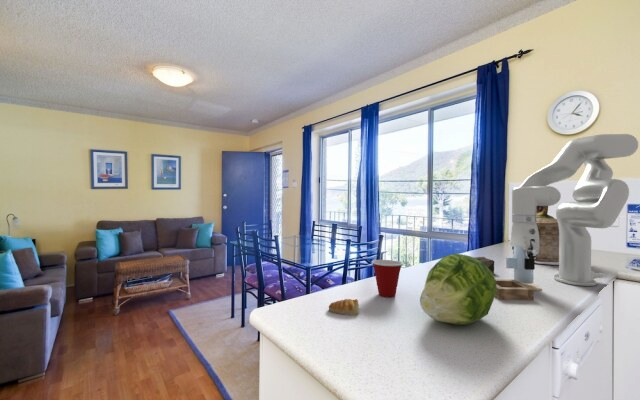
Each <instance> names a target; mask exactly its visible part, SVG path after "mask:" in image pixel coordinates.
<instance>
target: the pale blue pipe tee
mask: <svg viewBox="0 0 640 400" xmlns="http://www.w3.org/2000/svg"><path fill="white" fill-rule="evenodd" d="M528 250H531V249H528ZM530 253H531V252H528V254H530ZM525 258H526V256H525V251H524V250H522V248H519V247H516V246H514V254H513V256H512V257H511V256H510V257H509V256H506V258H505V259H506V260H505V261H506V262H505V263H506V264H505V268H506V269H513V280H516V281H518V282H520V283H525V284H534V270H526V269H525V268H524V263H525Z"/></svg>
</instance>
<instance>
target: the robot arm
mask: <svg viewBox="0 0 640 400" xmlns="http://www.w3.org/2000/svg"><path fill="white" fill-rule="evenodd" d="M638 141H639V140H637V138H636V137H635V136H634V135H632V134H630V133H612V134H611V133H604V134H601V133H600V134H593V135H590V136H582V137H578V138H574V139H571V140H569V141H568V142H567V143H566V144H565V146H564V147H563V148H562V149H561V150H560V152H559V153H558V154H557V155H556V156H555V158H554V159H553V160H552V162H551V163H550V164H548V165H546V166H544V167H542V168H541V169H539V170H537V171H535V172H534V173H532V174H531V175H530V176H528V177H527V178H526V179H525V180H524V181H523V182H522V184H521V185H520V186H517V187H514V188H512V191H511V223H512V225H511V233H510V235H511V237H510V247H511V249H512V254H513V255H514V246H516V247H519V248H522V250H524V251H525V256H526V258H525V263H524V268H525V269H526V270H533V271H534V270H535V267H536V266H535V265H536V263H535V259H536V256H537V254H538V253H539V232H538V227H537V224H536V206H548V207H550V206H554V205H556V204H558V203H559V202H560V200H561V195H562V194H561V192H560V190H558V188H556V187H554V186H551V185H552V184H555V183H558V182H561V181H565V180H567V179H569V178H572V177H573V176H574V175H575V174H577V172H578V171H579V169H580V168H581V166H582V165H583V164H584V171H583V173H582V175H581V177H580V178H579V180H578V182H577V184H576V185H575V187H574V188H573V191H572V198H573V200H574V201H568V202H564V203H561V204H559V205H558V207H557V208H556V211H555V216H556V217H555V218H556V219H557V222H558V226H559V265H558V273H557V274H554V275H553V279H554V280H555V281H558V282H560V283H562V284H568V285H573V286H580V287H592V286H596V285H597V283H598V282H597V280H595V279H604V278H605V276H606V275H605V274H604V273H603V272H595V271H593V270H592V236H591V233H590V232H589V231H588V229H587V228H590V229H607V228H608V229H609V227H611V226H613V225H614V224H615V222H616V220H617V219H618V217H619V216H620V213H621V212H622V210H623V209H624V207H625V205H626V203H627V201H628V199H629V197H630V190H629V189H630V188H629V185H628V184H627V183H626V182H625V181H624V180H622V179H616V178H613V176H614V172H613V171H614V170H612V169H613V168H611V166H609V164H608V163H607V162H606V161H605V160H609V159H617V158H625V157H630V156H632V155H634V154H635V153H636V152H637V150H638V149H639V142H638ZM528 249H531V250H528ZM528 252H531V253H530V254H528Z"/></svg>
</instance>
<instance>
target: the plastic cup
mask: <svg viewBox="0 0 640 400" xmlns="http://www.w3.org/2000/svg"><path fill="white" fill-rule="evenodd" d="M371 264H372V266H373V269H374V270H373V271H374V274H375V275H374V276H375V281H376V286H377V287H376V288H377V291H378V295H379V296H380V297H382V298H394V297H395V296H396V294H397V287H398V285H399V279H400V278H399V277H400V273H401V269H402V266H403V265H404V264H403V262H402V261H399V260H392V259H374V260H371Z"/></svg>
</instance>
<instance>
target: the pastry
mask: <svg viewBox="0 0 640 400" xmlns="http://www.w3.org/2000/svg"><path fill="white" fill-rule="evenodd" d="M328 310H329V311H330V312H331V313H333V314H338V315H341V316H343V315H345V316H358V315H359V314H360V305H359V299H356V298H355V299H351V298H350V299H349V298H344V299H341V300H337V301H334V302H331V303H330V304H329V306H328Z"/></svg>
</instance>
